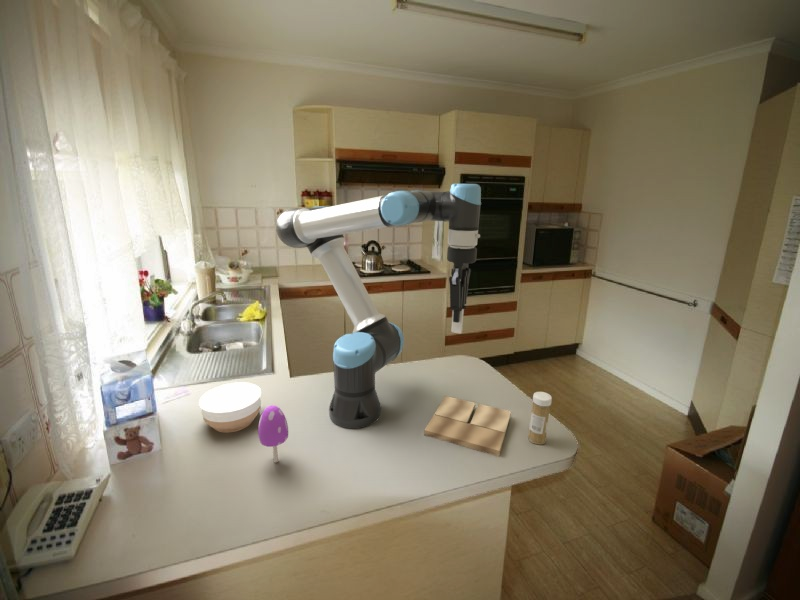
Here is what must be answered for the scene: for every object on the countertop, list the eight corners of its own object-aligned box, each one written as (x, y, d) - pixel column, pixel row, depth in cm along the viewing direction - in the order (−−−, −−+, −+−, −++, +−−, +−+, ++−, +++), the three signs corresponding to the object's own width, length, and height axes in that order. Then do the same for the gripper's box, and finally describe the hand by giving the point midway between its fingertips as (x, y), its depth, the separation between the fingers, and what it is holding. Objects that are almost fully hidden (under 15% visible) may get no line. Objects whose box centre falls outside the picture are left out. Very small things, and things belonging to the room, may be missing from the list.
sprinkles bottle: (549, 441, 103) (555, 396, 100) (538, 447, 101) (544, 401, 97) (534, 432, 107) (540, 389, 103) (523, 438, 105) (529, 393, 101)
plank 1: (434, 417, 112) (434, 414, 112) (444, 398, 121) (445, 395, 121) (466, 425, 109) (466, 422, 108) (475, 406, 117) (475, 402, 117)
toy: (274, 474, 90) (269, 418, 86) (255, 463, 93) (249, 408, 89) (296, 458, 95) (292, 404, 91) (277, 448, 99) (273, 396, 94)
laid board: (424, 435, 105) (424, 429, 105) (435, 416, 113) (435, 412, 113) (498, 456, 97) (499, 450, 97) (505, 435, 106) (505, 430, 105)
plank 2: (470, 426, 108) (470, 423, 108) (478, 406, 117) (478, 403, 116) (504, 435, 105) (505, 432, 104) (510, 414, 113) (511, 411, 113)
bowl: (238, 400, 120) (236, 377, 118) (275, 415, 113) (273, 391, 110) (189, 426, 107) (185, 401, 105) (227, 446, 99) (224, 419, 97)
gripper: (470, 251, 93) (463, 342, 99) (482, 244, 104) (475, 326, 111) (440, 248, 95) (436, 337, 102) (455, 241, 107) (450, 322, 114)
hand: (456, 331), depth 107 cm, fingers closed
